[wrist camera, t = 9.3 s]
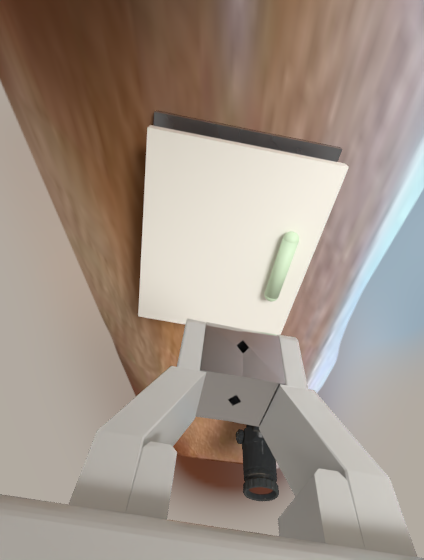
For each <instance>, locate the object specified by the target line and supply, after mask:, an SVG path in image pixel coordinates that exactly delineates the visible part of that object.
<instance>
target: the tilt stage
mask: <svg viewBox="0 0 424 560" xmlns="http://www.w3.org/2000/svg"><path fill="white" fill-rule="evenodd" d="M348 168H349V167H348V166H347V165H346V164H344V163H339V162H334V161H329V160H324V159H319V158H314V157H309V156H304V155H299V154H294V153H289V152H284V151H279V150H274V149H269V148H264V147H259V146H254V145H249V144H244V143H239V142H233V141H228V140H223V139H218V138H213V137H208V136H203V135H198V134H193V133H188V132H183V131H178V130H173V129H168V128H163V127H158V126H153V125H150V126H149V127H147V147H146V167H145V188H144V208H143V228H142V249H141V269H140V289H139V309H138V316H139V317H145V318H151V319H157V320H162V321H168V322H174V323H180V324H186V321H187V318H188V319H193V320H197V321H202V322H205V323H206V322H209V323H214V324H219V325H224V326H229V327H234V328H239V329H246V330H252V331H258V332H264V333H270V334H276V335H280V334H281V332H282V329H283V327H284V325H285V322H286V320H287V317H288V315H289V312H290V310H291V307H292V305H293V303H294V300H295V298H296V295H297V293H298V290H299V288H300V285H301V283H302V280H303V278H304V276H305V273H306V271H307V268H308V266H309V263H310V261H311V258H312V256H313V254H314V251H315V249H316V246H317V244H318V241H319V239H320V236H321V234H322V232H323V229H324V227H325V224H326V222H327V219H328V217H329V214H330V212H331V209H332V207H333V205H334V202H335V200H336V197H337V195H338V192H339V190H340V187H341V185H342V183H343V180H344V178H345V175H346V173H347V170H348Z"/></svg>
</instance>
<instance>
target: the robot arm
mask: <svg viewBox="0 0 424 560" xmlns="http://www.w3.org/2000/svg"><path fill="white" fill-rule="evenodd" d="M195 416H196V417H203V418H211V419H218V420H225V421H231V422H236V423H241V424H247V425H252V426H257V427H259V430H260V432H261V434H262V435H263V437H264V439H265V441H266V443H267V445H268V447H269V448H270V450H271V452H272V454H273V456H274V458H275V460H276V461H277V463H278V465H279V467H280V469H281V471H282V473H283V475H284V476H285V478H286V480H287V482H288V484H289V486H290V488H291V489H292V491H293V493H294V495H295V498H294V500H293V501H292V502H291V503H290V505H289V506H288V507H287V508H286V510H285V511H284V512H283V513H282V515H281V516H280V517H279V518H278V524H279V536H273V535H267V534H260V533H253V532H246V531H240V530H233V529H227V528H220V527H214V526H207V525H200V524H193V523H187V522H180V521H173V520H167V515H168V509H169V502H170V494H171V489H172V482H173V474H174V469H175V462H176V455H177V452H176V450H175V449H174V448H173V446H174V444H175V443H176V442H177V441H178V439H179V438H180V437H181V436H182V434H183V433H184V432H185V430H186V429H187V428H188V427H189V425H190V424H191V423H192V422H193V420H194V419H195ZM0 560H424V558H418V557H417V554H416V551H415V549H414V546H413V543H412V540H411V537H410V534H409V532H408V529H407V526H406V523H405V520H404V517H403V514H402V512H401V509H400V506H399V503H398V500H397V497H396V494H395V492H394V489H393V486H392V483H391V480H390V478H389V477H388V476H387V474H386V473H385V472H384V471H383V470H382V469H381V468H380V466H379V465H378V464H377V463H376V462H375V461H374V459H373V458H372V457H371V456H370V455H369V454H368V452H367V451H366V450H365V449H364V448H363V447H362V445H361V444H360V443H359V442H358V441H357V440H356V438H355V437H354V436H353V435H352V434H351V433H350V432H349V430H348V429H347V428H346V427H345V426H344V425H343V423H342V422H341V421H340V420H339V419H338V418H337V417H336V415H335V414H334V413H333V412H332V411H331V409H330V408H329V407H328V406H327V405H326V404H325V402H324V401H323V400H322V399H321V398H320V397H319V396H318V394H317V393H316V392H315V391H314V390H310V389H308V386H307V381H306V376H305V371H304V367H303V362H302V357H301V352H300V348H299V343H298V340H297V339H296V338H295V337H289V336H283V335H276V334H270V333H264V332H258V331H252V330H246V329H239V328H234V327H229V326H224V325H219V324H214V323H209V322H206V323H205V322H202V321H197V320H193V319H188V318H187V321H186V324H185V329H184V334H183V339H182V344H181V349H180V354H179V359H178V364H177V367H175V366H170V367H169V368H168V369H167V370H166V371H165V372H164V373H162V374H161V375H160V376H159V377H158V378H157V379H156V380H154V381H153V382H152V383H151V384H150V385H149V386H148V387H146V388H145V389H144V390H143V391H142V392H141V393H140V394H138V395H137V396H136V397H135V398H134V399H133V400H132V401H130V402H129V403H128V404H127V405H126V406H125V407H124V408H122V409H121V410H120V411H119V412H118V413H117V414H116V415H114V416H113V417H112V418H111V419H110V420H109V421H108V422H106V423H105V424H104V425H103V426H102V427H101V428H100V429H98V430H97V432H96V435H95V438H94V440H93V443H92V445H91V448H90V450H89V453H88V456H87V458H86V461H85V464H84V466H83V469H82V471H81V474H80V476H79V479H78V481H77V484H76V487H75V489H74V492H73V494H72V497H71V500H70V502H69V505H68V504H61V503H55V502H48V501H41V500H35V499H27V498H21V497H15V496H8V495H2V494H0Z"/></svg>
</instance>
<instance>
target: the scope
mask: <svg viewBox="0 0 424 560" xmlns="http://www.w3.org/2000/svg"><path fill="white" fill-rule="evenodd" d="M236 437H237V438H236V440H237V442H238V444H239V443H240V444H242V449H243V470H244V481H245V483H244V485H243V493H244V495H245V496H246V497H247V498H249V499H252V500H256V501H270V500H273V499H275V498H277V497H278V495H279V490H278V485H277V483H276V481H277V476H276V475H277V473H276V460H275V458H274V456H273V454H272V452H271V450H270V448H269V447H268V445H267V443H266V441H265V439H264V437H263V435H262V434H261V432H260V430H259V427H257V426H252V425H247V428H245V429H244V431H243V430H240V429H239V430H238V432H236Z"/></svg>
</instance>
